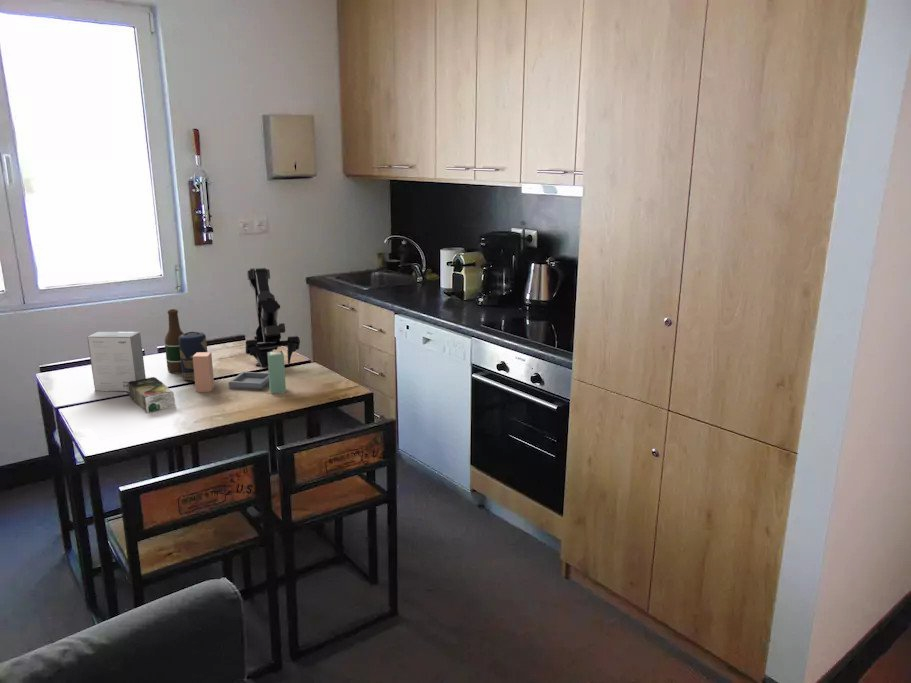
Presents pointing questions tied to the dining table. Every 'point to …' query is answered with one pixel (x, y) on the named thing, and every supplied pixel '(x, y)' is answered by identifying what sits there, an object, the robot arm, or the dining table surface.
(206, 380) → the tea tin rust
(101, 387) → the hard drive box
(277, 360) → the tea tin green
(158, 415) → the dining table surface
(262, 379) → the tray
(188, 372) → the canister
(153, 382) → the juice carton
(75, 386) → the dining table surface
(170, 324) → the beer bottle
